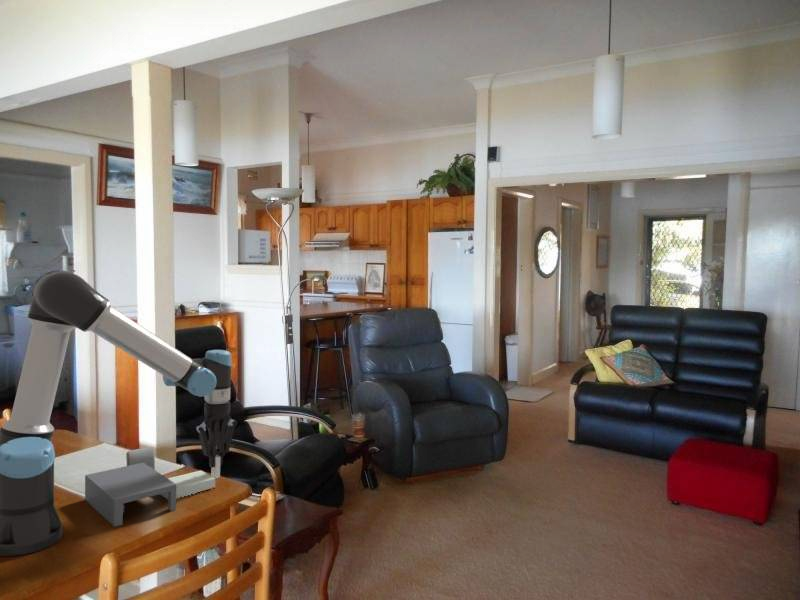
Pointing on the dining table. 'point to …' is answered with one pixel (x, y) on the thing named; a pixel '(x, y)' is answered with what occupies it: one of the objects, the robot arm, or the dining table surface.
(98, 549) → the dining table surface
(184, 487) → the ribbed white block
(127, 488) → the low shelf
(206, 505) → the dining table surface
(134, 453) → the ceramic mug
